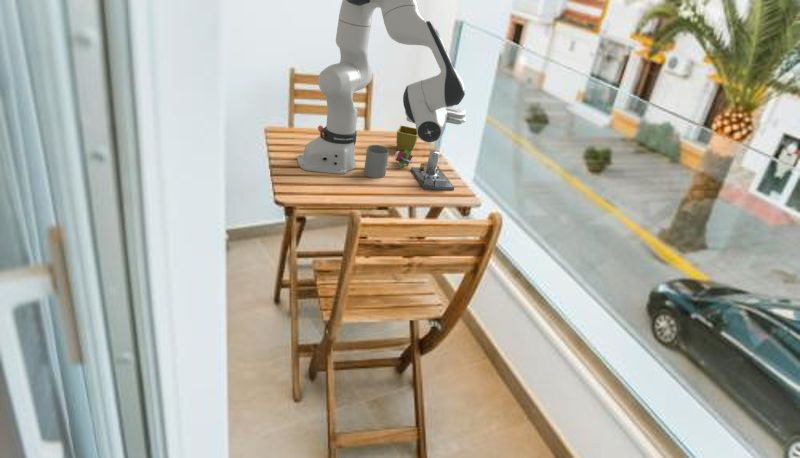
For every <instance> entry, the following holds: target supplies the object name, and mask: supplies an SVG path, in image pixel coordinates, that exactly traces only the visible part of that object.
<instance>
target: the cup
mask: <svg viewBox="0 0 800 458" xmlns="http://www.w3.org/2000/svg"><path fill="white" fill-rule="evenodd" d="M389 153H390V150H389V148H387V147H386V146H383V145H379V144H370V145H368V146H366V152H365V161H364V168H363V173H364V175H365V176H366V177H369V178H372V179H382V178H384V177H386V172H387V167H388V160H389Z"/></svg>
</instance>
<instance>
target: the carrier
mask: <svg viewBox="0 0 800 458" xmlns="http://www.w3.org/2000/svg"><path fill="white" fill-rule="evenodd" d="M410 171H411V172H412V174H413V175H414V177H415V178H416V180H417V181H418V183H419V184H420V185H421V187H422V188H423V190H424V191H425V190H427V191H428V190H429V191H431V190H432V191H436V190H437V191H454V190H455V185H454V184H453V183H452V182H451V181H450V180H449V178H448V177H447V176H446V175H445V173H444V172H443V171H442V170H441V168H440V167H439V172H438V175H439V179H431V178H425V180H424V179H422V178H421V172H422V171H420V166H419V167H415V166H413V167H411V168H410Z"/></svg>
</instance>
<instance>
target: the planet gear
mask: <svg viewBox="0 0 800 458" xmlns="http://www.w3.org/2000/svg"><path fill="white" fill-rule="evenodd" d="M428 155H429V156H428V161H427V162H428V164H427V169H426V170H424V171H422V172H421V178H422V179H424V180H425V178H431V179H439V175H438V173H437V172H436V167H437V166H438V161H439V157H440V151H439V150H438V149H437V150H436V149H431V150H430V151H429V154H428Z"/></svg>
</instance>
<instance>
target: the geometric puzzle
mask: <svg viewBox="0 0 800 458" xmlns="http://www.w3.org/2000/svg"><path fill="white" fill-rule="evenodd" d="M413 156H414V155H412V153H411V152H409V151H408V150H407V149H405V151H402V150H401V151H400V150H397V151H396V152H395V154H394V160H395V162H396V163H398V165H399V166H400V167H401V168H405V167H406V166H409V165H410V164H412V161H413V160H412V159H413Z"/></svg>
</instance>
